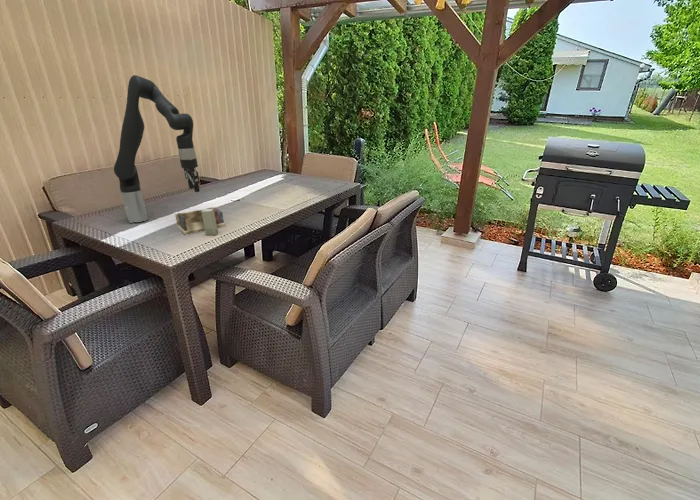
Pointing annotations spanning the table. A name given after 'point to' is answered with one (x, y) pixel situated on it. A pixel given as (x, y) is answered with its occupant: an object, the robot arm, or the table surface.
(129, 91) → the robot arm
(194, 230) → the shelf
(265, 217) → the table surface
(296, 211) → the table surface
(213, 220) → the box
